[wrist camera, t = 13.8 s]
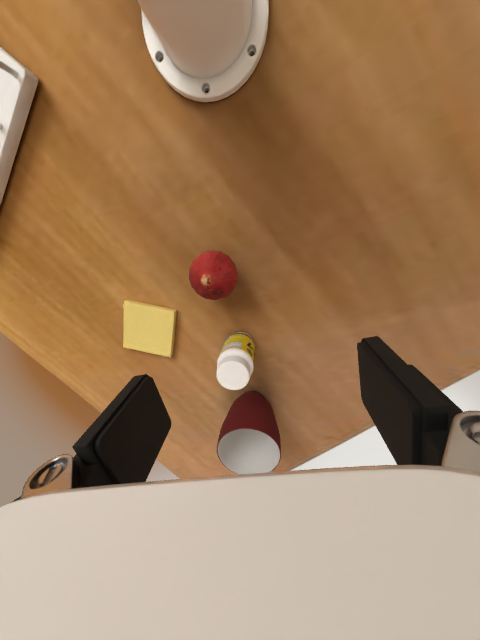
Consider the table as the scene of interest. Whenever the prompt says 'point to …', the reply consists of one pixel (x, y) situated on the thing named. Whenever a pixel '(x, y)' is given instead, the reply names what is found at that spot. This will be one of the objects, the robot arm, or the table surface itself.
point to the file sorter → (13, 110)
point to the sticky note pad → (149, 328)
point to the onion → (213, 275)
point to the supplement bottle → (236, 361)
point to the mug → (250, 436)
